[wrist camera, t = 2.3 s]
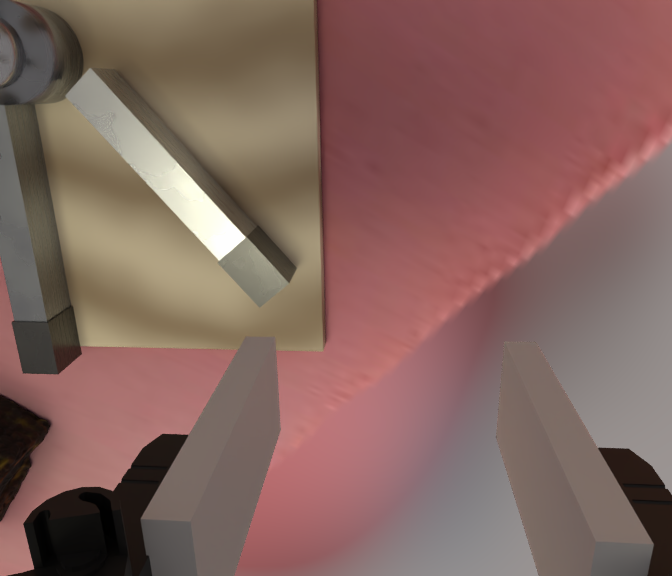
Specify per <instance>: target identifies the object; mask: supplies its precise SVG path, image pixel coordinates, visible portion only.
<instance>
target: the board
mask: <svg viewBox="0 0 672 576" xmlns="http://www.w3.org/2000/svg"><path fill="white" fill-rule="evenodd" d="M13 1H17V2H21V3H26V4H30V5H34V6H38V7H42V8H45V9H48V10H50V11H53V12H54V13H56V14H57V15H59V16H60V17H61V18H63V19H64V20H65V21H66V22H67V23H68V24H69V25H70V27H71V28H72V29H73V31H74V33H75V34H76V36H77V38H78V40H79V42H80V45H81V48H82V53H83V61H84V62H83V73H82V76H83V75H84V74H85V73H86V72H87V71H88V70H89V68H102V69H115V70H116V71H117V72H118V73H119V75H120V76H121V77H122V78H123V79H124V80H125V81H126V82H127V83H128V85H129V86H130V87H131V88H132V89H133V90H134V91H135V92H136V93H137V94H138V96H139V97H140V98H141V99H142V100H143V101H144V102H145V103H146V104H147V106H148V107H149V108H150V109H151V110H152V111H153V112H154V113H155V114H156V115H157V117H158V118H159V119H160V120H161V121H162V122H163V123H164V124H165V125H166V127H167V128H168V129H169V130H170V131H171V132H172V133H173V134H174V135H175V136H176V138H177V139H178V140H179V141H180V142H181V143H182V144H183V145H184V146H185V147H186V149H187V150H188V151H189V152H190V153H191V154H192V155H193V156H194V157H195V159H196V160H197V161H198V162H199V163H200V164H201V165H202V166H203V167H204V168H205V170H206V171H207V172H208V173H209V174H210V175H211V176H212V177H213V178H214V180H215V181H216V182H217V183H218V184H219V185H220V186H221V187H222V188H223V189H224V191H225V192H226V193H227V194H228V195H229V196H230V197H231V198H232V199H233V201H234V202H235V203H236V204H237V205H238V206H239V207H240V208H241V209H242V210H243V212H244V213H245V214H246V215H247V216H248V217H249V218H250V219H251V220H252V222H253V223H254V224H255V225H256V226H258V225H259V227H260V228H261V229H262V230H263V231H264V232H265V233H266V234H267V235H268V236H269V238H270V239H271V240H272V241H273V242H274V243H275V244H276V245H277V246H278V248H279V249H280V250H281V251H282V252H283V253H284V254H285V255H286V256H287V258H288V259H289V260H290V261H291V262H292V263H293V264H294V265H295V266H296V267H297V269H296V271H295V273H294V275H293V277H292V279H291V281H290V283H289V284H288V285H287V286H286V287H284V288H283V289H282V290H281V291H279V292H278V293H277V294H276V295H275V296H273V297H272V298H271V299H270V300H269V301H267V302H266V303H265V304H264V305H262V306H261V307H260V308H259V307H258V306H257V304H256V303H255V302H254V301H253V300H252V299H251V298H250V297H249V296H248V295H247V294H246V293H245V292H244V291H243V290H242V288H241V287H240V286H239V285H238V284H237V283H236V282H235V281H234V280H233V279H232V278H231V277H230V276H229V275H228V274H227V272H226V271H225V270H224V269H223V268H222V267H221V266H220V265H219V264H218V262H219V260H218V259H217V258H216V257H215V256H214V255H213V254H212V252H211V251H210V250H209V249H208V248H207V247H206V246H205V245H204V244H203V243H202V242H201V241H200V240H199V239H198V238H197V236H196V235H195V234H194V233H193V232H192V231H191V230H190V229H189V228H188V227H187V226H186V225H185V224H184V223H183V222H182V220H181V219H180V218H179V217H178V216H177V215H176V214H175V213H174V212H173V211H172V210H171V209H170V208H169V207H168V205H167V204H166V203H165V202H164V201H163V200H162V199H161V198H160V197H159V196H158V195H157V194H156V193H155V192H154V191H153V189H152V188H151V187H150V186H149V185H148V184H147V183H146V182H145V181H144V180H143V179H142V178H141V177H140V176H139V175H138V173H137V172H136V171H135V170H134V169H133V168H132V167H131V166H130V165H129V164H128V163H127V162H126V161H125V160H124V159H123V157H122V156H121V155H120V154H119V153H118V152H117V151H116V150H115V149H114V148H113V147H112V146H111V145H110V144H109V142H108V141H107V140H106V139H105V138H104V137H103V136H102V135H101V134H100V133H99V132H98V131H97V130H96V129H95V128H94V126H93V125H92V124H91V123H90V122H89V121H88V120H87V119H86V118H85V117H84V116H83V115H82V114H81V113H80V112H79V110H78V109H77V108H76V107H75V106H74V105H73V104H72V103H71V102H70V101H69V100H68V99H67V98H66V99H64V100H62V101H59V102H56V103H50V104H35V109H36V114H37V120H38V125H39V131H40V136H41V142H42V147H43V153H44V158H45V164H46V169H47V175H48V180H49V186H50V191H51V197H52V202H53V208H54V213H55V219H56V224H57V230H58V235H59V241H60V246H61V252H62V257H63V263H64V268H65V274H66V279H67V285H68V290H69V296H70V301H71V306H73V309H74V314H75V320H76V325H77V331H78V336H79V342H80V346H99V347H144V348H190V349H236V350H238V349H239V348H240V346H241V344H242V342H243V341H244V339H245V337H246V336H249V337H275V341H276V350H282V351H324V347H325V343H326V340H325V301H324V263H323V224H322V186H321V147H320V108H319V70H318V31H317V0H13Z"/></svg>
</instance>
